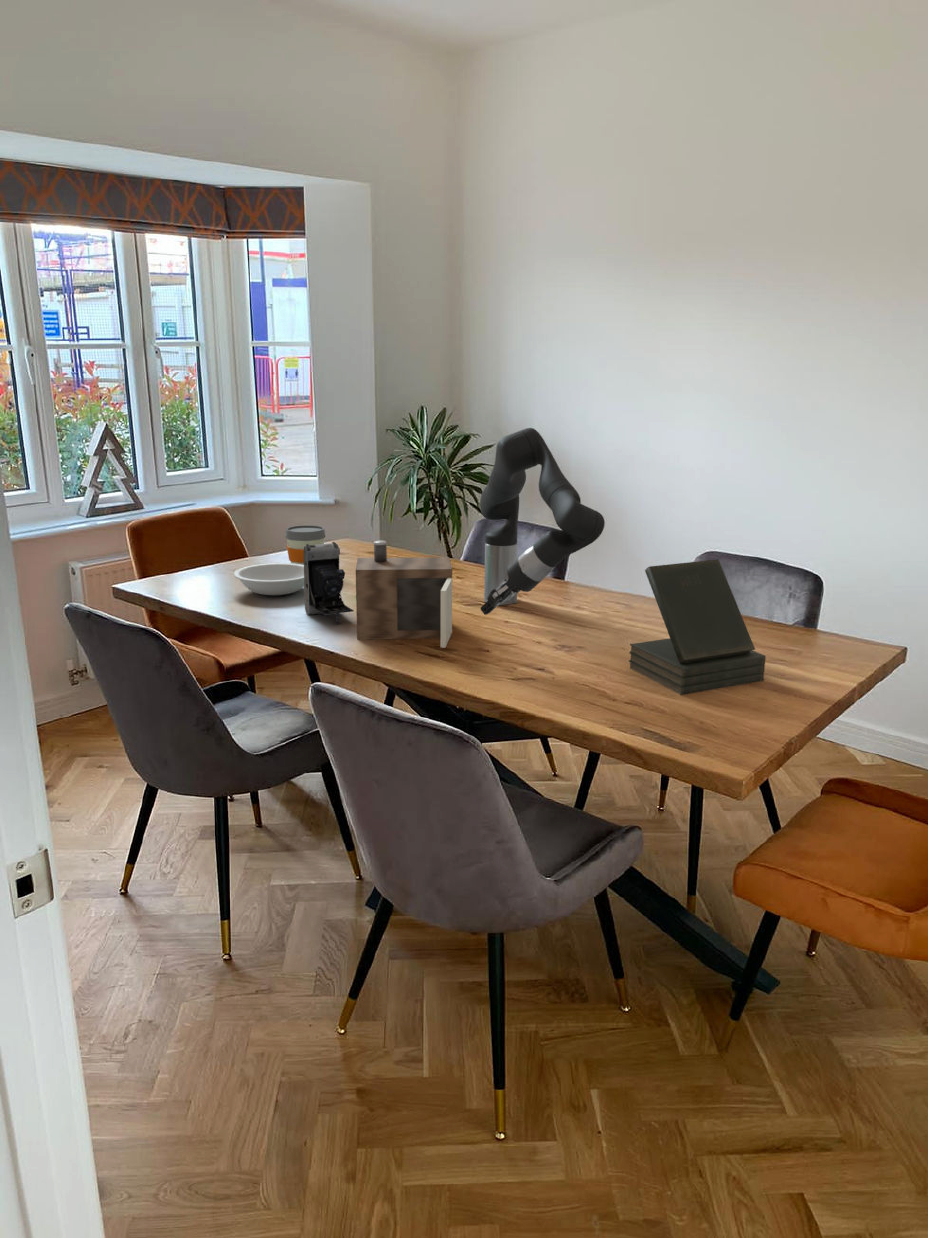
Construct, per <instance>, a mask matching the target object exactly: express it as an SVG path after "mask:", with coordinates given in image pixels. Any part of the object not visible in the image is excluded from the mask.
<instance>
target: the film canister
mask: <svg viewBox="0 0 928 1238" xmlns="http://www.w3.org/2000/svg"><path fill="white" fill-rule="evenodd" d="M387 544H388V542H387V541H386V540H375V541H373V558H374V561H375V562H386V561H387V558H388V556H387V554H388V553H387V552H388V551H387V550H388V549H387Z"/></svg>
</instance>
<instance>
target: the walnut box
mask: <svg viewBox="0 0 928 1238" xmlns="http://www.w3.org/2000/svg"><path fill="white" fill-rule="evenodd" d="M356 561H357V562H356V565H355V601H356V606H355V607H356V639H357V640H404V639H406V640H407V639H411V640H413V639H415V640H416V639H417V640H418V639H422V640H423V639H441V589H442V587H443V585H444V584H445V582H446V580H447V578H448V577H452V578H453V566H452V562H451V559H450V556H442V557H441V556H439V557H438V556H435V557H434V556H430V557H429V556H427V557H426V556H425V557H423V556H421V557H419V556H418V557H410V556H409V557H407V556H406V557H387V561H386V562H375V561H374V557H357V560H356ZM449 639H453V632H452V633H451V636H450V638H449Z"/></svg>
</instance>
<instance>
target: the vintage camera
mask: <svg viewBox="0 0 928 1238" xmlns="http://www.w3.org/2000/svg"><path fill="white" fill-rule="evenodd" d="M303 555H304V587H303V588H304V591H303V592H304V594H303V595H304V611H305V615H308V616H310V615H319V614H320V615H321V614H322V615H324V616H328V615H335V619H336V620H335V621H336V625H341V620H340V614H345V613H351V612H354V611H355V610H354V609H352V608H350V607H349V606H347V605H345V603H344V600H343V598H342V595H341V592H342V590H343V588H344V579H345V576H346V572H345V570H344V569H341V568H340V555H341V548H340V546H339V544H338V543H337V542H335V541H332V543H331V542H330V543H324V544H319V545H308V544H306V546H304V554H303Z"/></svg>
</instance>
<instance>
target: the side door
mask: <svg viewBox="0 0 928 1238" xmlns="http://www.w3.org/2000/svg"><path fill="white" fill-rule="evenodd" d="M451 633H452V634H453V576H452V577H448V578H447V580H446V582H445V584H444V585H443V587H442V589H441V638H440V648H444V649H445V648H446V647H447V645H448V642H449V640H450V639H451V638H450V636H451Z"/></svg>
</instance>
